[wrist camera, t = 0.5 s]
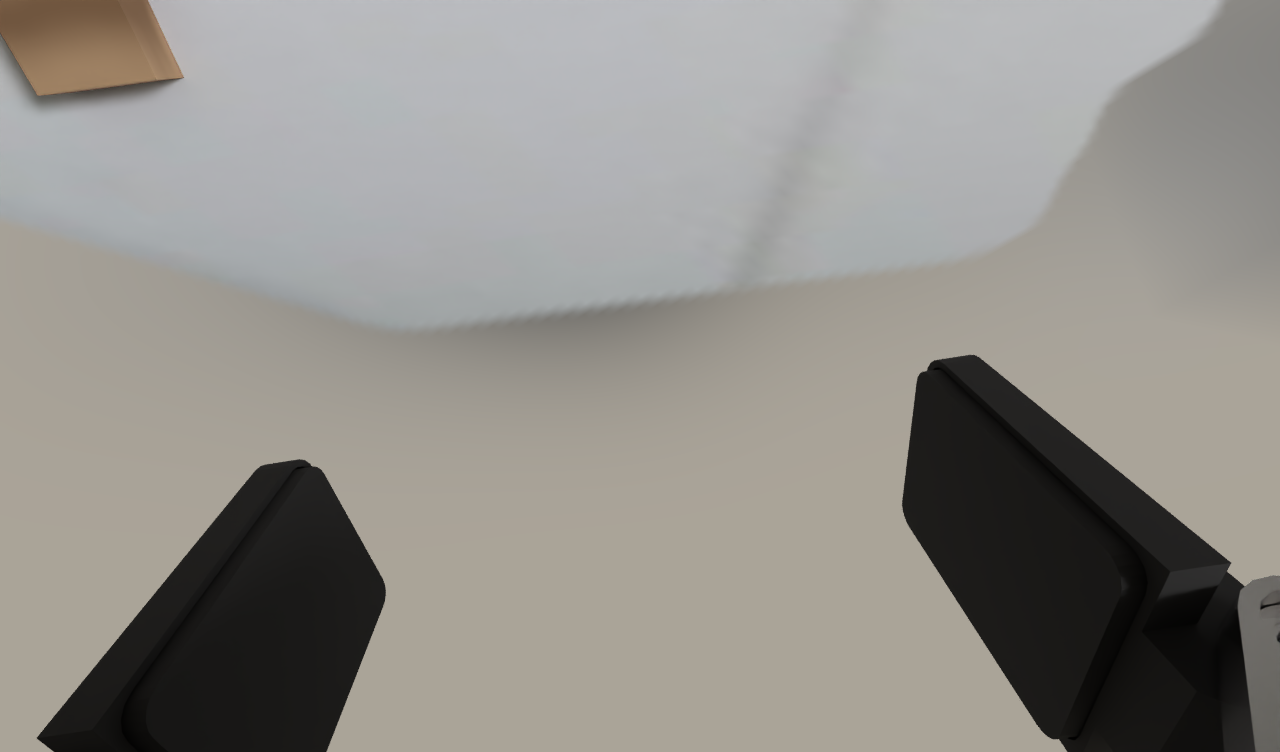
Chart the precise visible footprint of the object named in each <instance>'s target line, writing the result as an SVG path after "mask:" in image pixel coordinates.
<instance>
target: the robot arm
mask: <svg viewBox="0 0 1280 752" xmlns="http://www.w3.org/2000/svg"><path fill="white" fill-rule="evenodd" d="M902 507H903V513H904V516H905V519H906V522H907V524H908V525H909V527H910V529H911V530H912V532H913V533H914V535H915V536H916V538H917V540H918V541H919V542H920V544H921V546H922V547H923V549H924V550H925V552H926V553H927V555H928V556H929V558H930V560H931V561H932V563H933V564H934V566H935V567H936V569H937V570H938V572H939V574H940V575H941V577H942V578H943V580H944V581H945V583H946V585H947V586H948V588H949V589H950V591H951V592H952V594H953V595H954V597H955V598H956V600H957V602H958V603H959V604H960V606H961V608H962V609H963V611H964V612H965V614H966V615H967V617H968V619H969V620H970V622H971V623H972V625H973V626H974V628H975V629H976V631H977V633H978V634H979V636H980V637H981V639H982V640H983V642H984V643H985V645H986V646H987V648H988V650H989V651H990V653H991V654H992V656H993V657H994V659H995V660H996V662H997V664H998V665H999V667H1000V668H1001V670H1002V671H1003V673H1004V674H1005V676H1006V678H1007V679H1008V681H1009V682H1010V684H1011V685H1012V687H1013V688H1014V690H1015V691H1016V693H1017V695H1018V696H1019V698H1020V699H1021V701H1022V702H1023V704H1024V705H1025V707H1026V709H1027V710H1028V711H1029V713H1030V715H1031V716H1032V717H1033V719H1034V721H1035V722H1036V724H1037V725H1038V727H1039V728H1040V729H1041V731H1042V732H1043V733H1044V734H1045V735H1047V736H1048V737H1050V738H1051V739H1059V740H1060V741H1061V743H1062V744H1063V745H1064V747H1065V749H1066V750H1067V752H1280V576H1269V577H1264V578H1260V579H1256V580H1252V581H1251V582H1250V583H1249V584H1247V585H1246V586H1243V585H1242V584H1241V583H1240V582H1239V581H1238V580H1236V579H1235V578H1234V577H1233V576H1232V575H1230V574H1229V573H1228V572H1227V570H1228V568H1229V566H1230V564H1231V562H1229V561H1228V560H1227V559H1226V558H1225V557H1223V556H1222V555H1221V554H1220V553H1218V552H1217V551H1216V550H1215V549H1213V548H1212V547H1211V546H1210V545H1209V544H1207V543H1206V542H1205V541H1204V540H1202V539H1201V538H1200V537H1199V536H1197V535H1196V534H1195V533H1194V532H1193V531H1191V530H1190V529H1189V528H1187V526H1185V525H1184V524H1183V523H1181V522H1180V521H1179V520H1178V519H1177V518H1176V517H1174V516H1173V515H1172V514H1171V513H1169V512H1168V511H1167V510H1166V509H1164V508H1163V507H1162V506H1161V505H1160V504H1158V503H1157V502H1156V501H1155V500H1153V499H1152V498H1151V497H1150V496H1149V495H1147V494H1146V493H1145V492H1144V491H1142V490H1141V489H1140V488H1139V487H1137V486H1136V485H1135V484H1134V483H1133V482H1131V481H1130V480H1129V479H1128V478H1126V477H1125V476H1124V475H1123V474H1122V473H1120V472H1119V471H1118V470H1117V469H1115V468H1114V467H1113V466H1112V465H1110V464H1109V463H1108V462H1107V461H1106V460H1104V459H1103V458H1102V457H1101V456H1099V455H1098V454H1097V453H1096V452H1094V451H1093V450H1092V449H1091V448H1090V447H1088V446H1087V445H1086V444H1085V443H1084V442H1082V441H1081V440H1080V439H1079V438H1077V437H1076V436H1075V435H1074V434H1073V433H1071V432H1070V431H1069V430H1067V429H1066V428H1065V427H1064V426H1063V425H1061V424H1060V423H1059V422H1058V421H1057V420H1055V419H1054V418H1053V417H1052V416H1050V415H1049V414H1048V413H1047V412H1046V411H1044V410H1043V409H1042V408H1041V407H1039V406H1038V405H1037V404H1036V403H1035V402H1033V401H1032V400H1031V399H1029V398H1028V397H1027V396H1026V395H1025V394H1023V393H1022V392H1021V391H1020V390H1018V389H1017V388H1016V387H1015V386H1014V385H1012V384H1011V383H1010V382H1009V381H1008V380H1006V379H1005V378H1004V377H1003V376H1001V375H1000V374H999V373H998V372H997V371H995V370H994V369H993V368H992V367H990V366H989V365H988V364H987V363H985V362H984V361H983V360H981V359H980V358H979V357H977V356H975V355H966V356H960V357H953V358H947V359H941V360H935V361H933V362H931V363H930V365H929V367H928V370H927V371H925V372H922V373H920V374H919V376H918V379H917V384H916V393H915V401H914V409H913V417H912V426H911V435H910V442H909V450H908V459H907V467H906V476H905V483H904V493H903V500H902ZM385 596H386V590H385V584H384V581H383V579H382V577H381V575H380V573H379V571H378V570H377V568H376V566H375V564H374V563H373V561H372V559H371V557H370V555H369V554H368V552H367V550H366V549H365V546H364V544H363V543H362V541H361V539H360V537H359V536H358V534H357V532H356V530H355V528H354V527H353V525H352V523H351V521H350V519H349V518H348V516H347V514H346V512H345V510H344V509H343V507H342V505H341V504H340V501H339V500H338V498H337V496H336V494H335V493H334V491H333V489H332V487H331V485H330V484H329V482H328V480H327V478H326V476H325V474H324V473H323V472H322V470H321V469H319V468H318V467H312V466H311V465H310V463H308V462H307V461H305V460H300V459H299V460H293V461H286V462H279V463H273V464H267V465H263V466H260V467H259V468H258V469H257V470H256V471H255V472H254V473H253V474H252V475H251V477H250V478H249V479H248V480H247V481H246V483H245V484H244V485H243V486H242V488H241V489H240V490H239V491H238V492H237V494H236V495H235V496H234V497H233V499H232V500H231V501H230V502H229V503H228V505H227V506H226V507H225V508H224V510H223V511H222V512H221V513H220V514H219V516H218V517H217V518H216V519H215V521H214V522H213V523H212V524H211V525H210V527H209V528H208V529H207V531H206V532H205V533H204V534H203V535H202V536H201V538H200V539H199V540H198V541H197V543H196V544H195V545H194V546H193V547H192V549H191V550H190V551H189V552H188V554H187V555H186V556H185V557H184V558H183V560H182V561H181V562H180V563H179V565H178V566H177V567H176V568H175V569H174V571H173V572H172V573H171V574H170V576H169V577H168V578H167V579H166V580H165V582H164V583H163V584H162V585H161V587H160V588H159V589H158V590H157V591H156V593H155V594H154V595H153V596H152V598H151V599H150V600H149V601H148V602H147V604H146V605H145V606H144V607H143V609H142V610H141V611H140V612H139V613H138V615H137V616H136V617H135V618H134V620H133V621H132V622H131V623H130V624H129V626H128V627H127V628H126V629H125V631H124V632H123V633H122V634H121V635H120V637H119V638H118V639H117V640H116V642H115V643H114V644H113V645H112V646H111V648H110V649H109V650H108V651H107V653H106V654H105V655H104V656H103V657H102V659H101V660H100V661H99V662H98V664H97V665H96V666H95V667H94V668H93V670H92V671H91V672H90V674H89V675H88V676H87V677H86V678H85V679H84V681H83V682H82V683H81V684H80V686H79V687H78V688H77V689H76V690H75V692H74V693H73V694H72V695H71V697H70V698H69V699H68V700H67V702H66V703H65V704H64V705H63V706H62V708H61V709H60V710H59V711H58V712H57V714H56V715H55V716H54V717H53V719H52V720H51V721H50V722H49V723H48V725H47V726H46V727H45V728H44V730H43V731H42V732H41V733H40V735H39V736H38V737H37V739H38V740H40V741H41V742H42V743H44V744H45V745H46V746H47V747H49V748H50V749H51V750H52V751H54V752H326V751H327V749H328V746H329V744H330V741H331V738H332V736H333V734H334V731H335V728H336V726H337V723H338V721H339V718H340V715H341V713H342V710H343V707H344V705H345V703H346V700H347V698H348V695H349V692H350V690H351V687H352V685H353V682H354V680H355V677H356V675H357V672H358V669H359V667H360V664H361V661H362V659H363V656H364V654H365V651H366V649H367V646H368V644H369V641H370V638H371V636H372V634H373V631H374V628H375V625H376V623H377V621H378V618H379V616H380V613H381V610H382V608H383V605H384V602H385Z"/></svg>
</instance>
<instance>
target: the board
mask: <svg viewBox="0 0 1280 752" xmlns="http://www.w3.org/2000/svg"><path fill="white" fill-rule="evenodd" d="M0 33H1V35H2V36H3V38H4V40H5V41H6V43H7V45H8V46H9V48H10V50H11V52H12V53H13V55H14V57H15V58H16V60H17V62H18V63H19V65H20V67H21V68H22V70H23V72H24V73H25V75H26V77H27V78H28V80H29V82H30V83H31V85H32V87H33V88H34V90H35V92H36V94H37V95H38V96H41V95H52V94H62V93H73V92H80V91H88V90H95V89H103V88H110V87H117V86H125V85H132V84H140V83H147V82H155V81H162V80H170V79H177V78H184V77H183V75H182V72H181V70H180V68H179V66H178V64H177V62H176V60H175V57H174V55H173V53H172V51H171V49H170V47H169V45H168V43H167V40H166V38H165V36H164V34H163V32H162V30H161V28H160V25H159V23H158V21H157V19H156V17H155V15H154V13H153V10H152V8H151V6H150V4H149V2H148V0H0Z"/></svg>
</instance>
